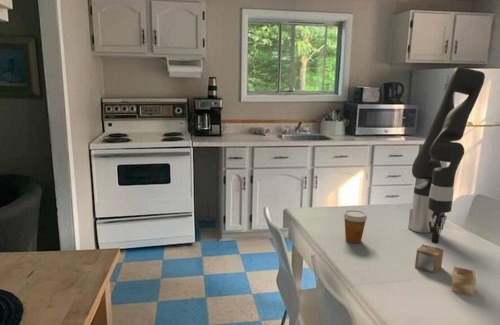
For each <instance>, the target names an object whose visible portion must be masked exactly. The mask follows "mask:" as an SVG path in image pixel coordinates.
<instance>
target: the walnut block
mask: <svg viewBox="0 0 500 325" xmlns="http://www.w3.org/2000/svg"><path fill="white" fill-rule="evenodd" d="M444 251H445V250H444V249H443V248H440V247H437V246H433V245H428V244H425V243H422V245H420V246H419V247H418V248H417V249H416V256H415V264H414V268H416V269H418V270H421V271H425V272H427V273H430V274H434V275H436V274H437V273H439V271H440V270H441V269H442V265H443V258H444Z"/></svg>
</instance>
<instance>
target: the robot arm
mask: <svg viewBox="0 0 500 325" xmlns="http://www.w3.org/2000/svg"><path fill="white" fill-rule="evenodd" d="M485 79H486V76H485V73H484V72H483V71H482V70H481V71H480V70H476V69H473V68H468V67H463V66H457V67H455V68H454V69H453V71H452V73H451V75H450V77H449V80H448V82H447V86H446V89H445V91H444V93H443V97H442V99H441V102H440V105H439V108H438V110H437V112H436V114H435V116H434V118H433V120H432V122H431V125H430V128H429V131H428V133H427V135H426V138H425V140H424V142H423V144H422V146H421V148H420V150H419V152H418V153H417V155H416V157H415V159H414V161H413V164H412V167H411V175H412V176H413V177H414V178H415V179H418V180H424V181H422V182H421V183H419V184H417V185H415V186H414V188H413V196H412V206H411V208H410V209H409V218H408V225H407V226H408V227H407V229H409V230H411V231H413V232H416V233H420V234H430V233H431V239H430V240H431V243H433V244H436V245H437V244H439V243H440V238H441V237H440V236H441V233H442V231H443V229H444V226H445V224H446V220H447V215H445V214H446V213H450V212H452V209H453V208H452V205H453V201H454V186H455V178H456V174H457V170H458V167H459V166H460V164H461V161H462V159H463V158H464V155H465V148H464V145H463V144H462V143H461V142H457V141H460V140H461V139H463V137H464V133H465V130H466V126H467V123H468V120H469V117H470V115H471V112H472V111H473V109H474V107H475V104H476V103H477V100H478V98H479V95H480V93H481V91H482V88H483V86H484V82H485ZM455 93H458V94H459V93H460V94H462V95H467V97H466V99H464V101H462V102H461V103H459V104H458V105H457V106H455V103H454V94H455ZM441 162H445V163H449V165H448V166H443V167H442V163H441Z"/></svg>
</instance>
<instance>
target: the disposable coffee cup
mask: <svg viewBox="0 0 500 325" xmlns="http://www.w3.org/2000/svg"><path fill="white" fill-rule="evenodd" d="M343 218H344V232H345V241H346V242H348V243H352V244H360V243H361V242H362V239H363V235H364V230H365V226H366V221H367V220H368V216H367V213H366V212H364V211H362V210H357V209H356V210H355V209H349V210H348V209H347V210H346V211H345V212H344V214H343Z"/></svg>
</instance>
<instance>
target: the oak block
mask: <svg viewBox="0 0 500 325" xmlns="http://www.w3.org/2000/svg"><path fill="white" fill-rule="evenodd" d="M451 276H452V278H451V291H452V292H454V293H459V294H462V295H467V296H471V297H474V293H475V287H476V281H477V276H476V270H472V269H467V268H462V267H458V266H453V270H452V275H451Z"/></svg>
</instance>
